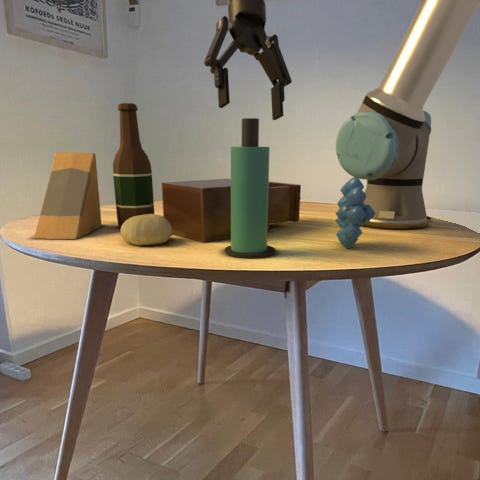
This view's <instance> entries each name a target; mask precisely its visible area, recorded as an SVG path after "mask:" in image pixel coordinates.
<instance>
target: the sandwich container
mask: <svg viewBox="0 0 480 480" xmlns="http://www.w3.org/2000/svg"><path fill="white" fill-rule="evenodd" d="M96 157H97V155H96V153H95V152H84V151H83V152H82V151H79V152H78V151H56V152H55V153H54V156H53V161H52V166H51V170H50V175H49V178H48V183H47V187H46V190H45V195H44V198H43V203H42V207H41V210H40V215H39V217H38V221H37V225H36V228H35V233H34V236H33V239H39V240H41V239H47V240H48V239H49V240H77V239H79V238H81V237H83V236H85V235H87V234H89V233H91V232H93V231H94V230H96V229H98V228H100V227H101V226H102V214H101V203H100V202H101V201H100V191H99V180H98V170H97V169H98V168H97V167H98V166H97V159H96Z"/></svg>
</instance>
